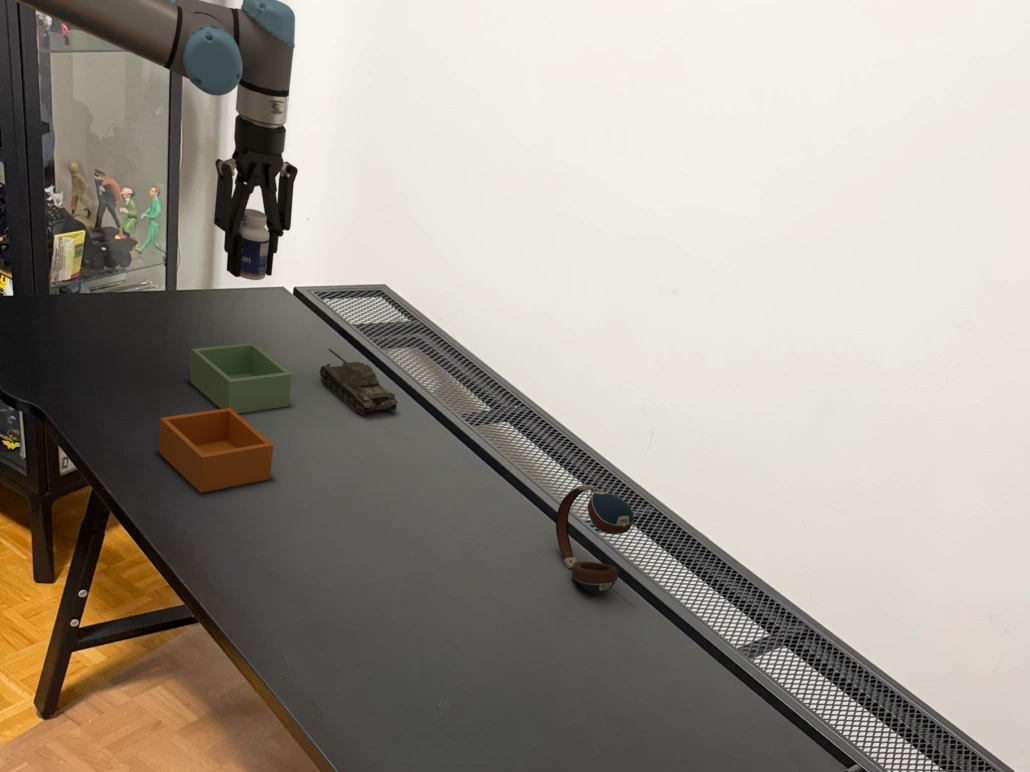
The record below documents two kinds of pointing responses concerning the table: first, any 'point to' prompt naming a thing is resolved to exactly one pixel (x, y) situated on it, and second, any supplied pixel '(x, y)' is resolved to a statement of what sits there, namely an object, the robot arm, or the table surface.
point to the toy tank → (357, 386)
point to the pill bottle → (254, 245)
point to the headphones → (608, 518)
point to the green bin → (240, 377)
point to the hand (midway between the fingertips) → (249, 272)
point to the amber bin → (215, 449)
